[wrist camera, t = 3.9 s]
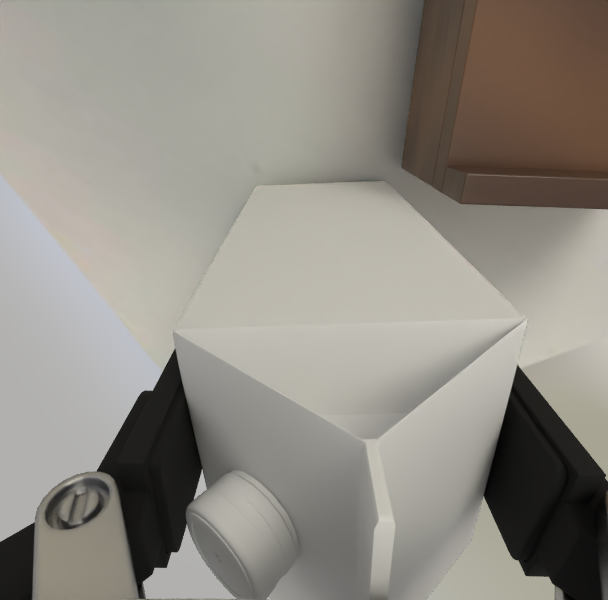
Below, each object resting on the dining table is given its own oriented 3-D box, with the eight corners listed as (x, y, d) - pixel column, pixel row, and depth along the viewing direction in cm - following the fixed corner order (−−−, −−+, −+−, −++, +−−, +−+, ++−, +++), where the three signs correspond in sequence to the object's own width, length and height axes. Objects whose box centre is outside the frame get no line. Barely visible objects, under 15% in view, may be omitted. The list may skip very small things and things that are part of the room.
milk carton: (386, 179, 21) (736, 514, 4) (380, 297, 24) (556, 759, 7) (254, 184, 21) (47, 528, 4) (265, 301, 24) (175, 763, 7)
